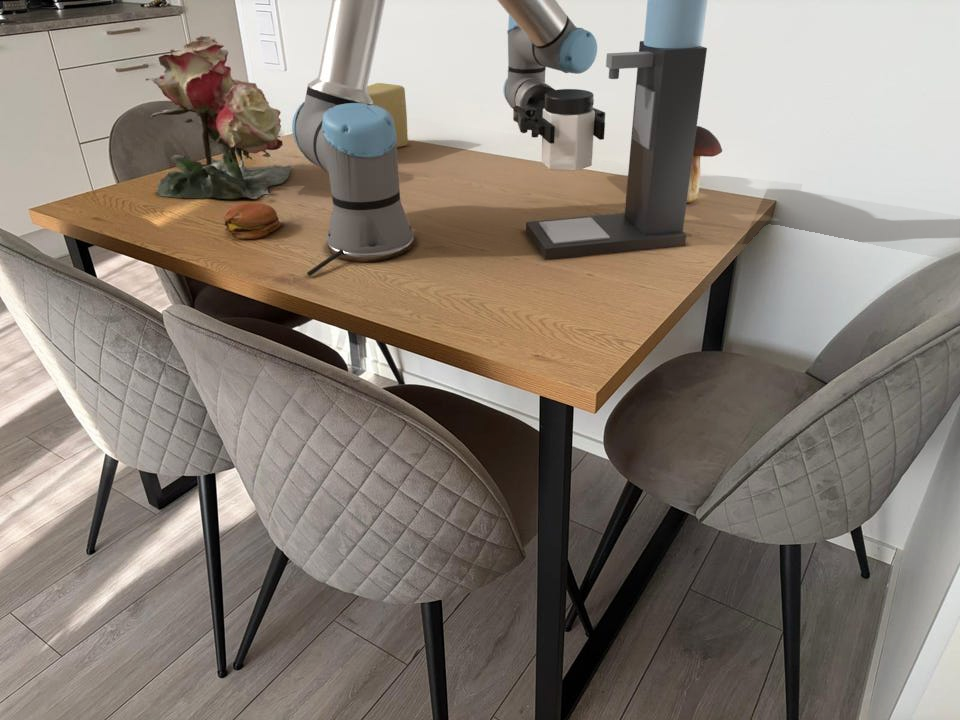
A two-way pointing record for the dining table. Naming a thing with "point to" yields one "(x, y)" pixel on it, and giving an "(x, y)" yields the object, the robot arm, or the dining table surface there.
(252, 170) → the rose bouquet
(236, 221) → the burger
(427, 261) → the dining table surface
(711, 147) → the decorative mushroom
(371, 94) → the cheese
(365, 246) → the robot arm
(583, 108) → the jar
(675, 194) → the water dispenser
